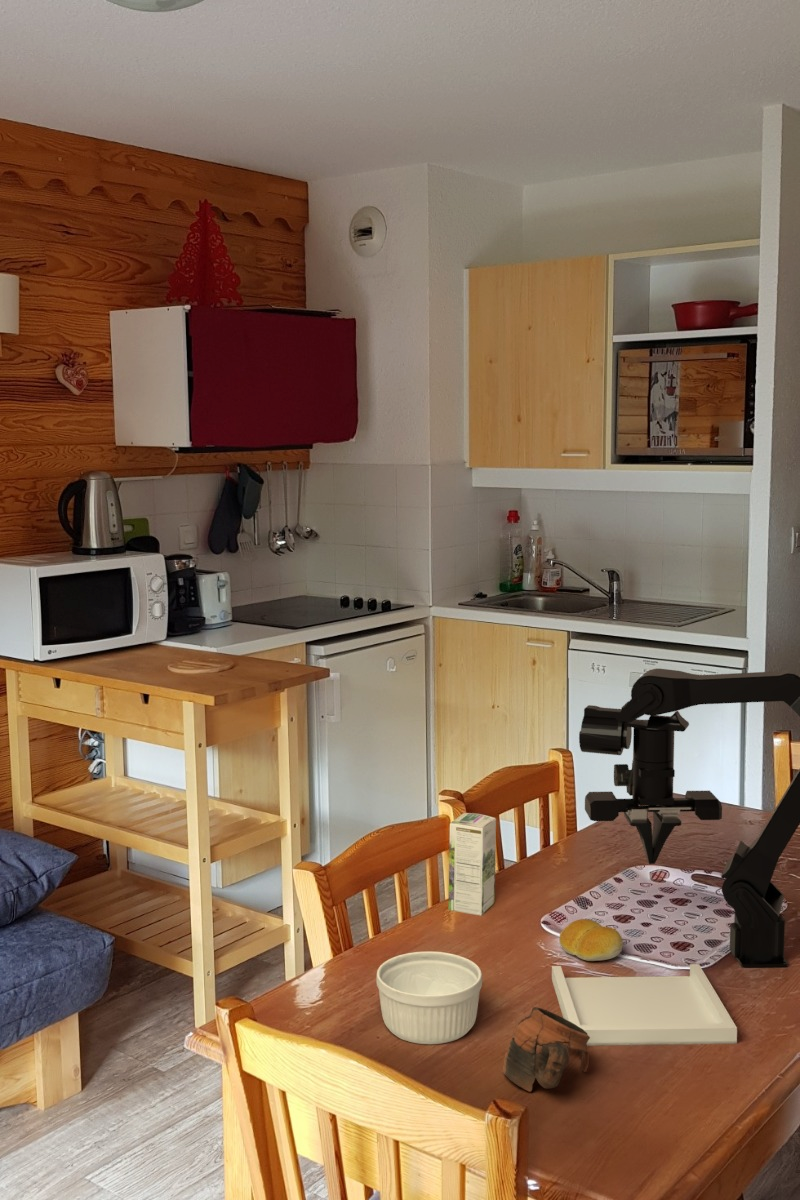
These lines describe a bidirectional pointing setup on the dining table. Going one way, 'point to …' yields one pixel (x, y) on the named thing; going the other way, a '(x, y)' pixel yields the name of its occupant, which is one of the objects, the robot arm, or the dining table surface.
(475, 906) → the syrup box
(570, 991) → the tray
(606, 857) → the dining table surface
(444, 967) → the ramekin
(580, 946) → the bread roll
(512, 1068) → the pottery mug
